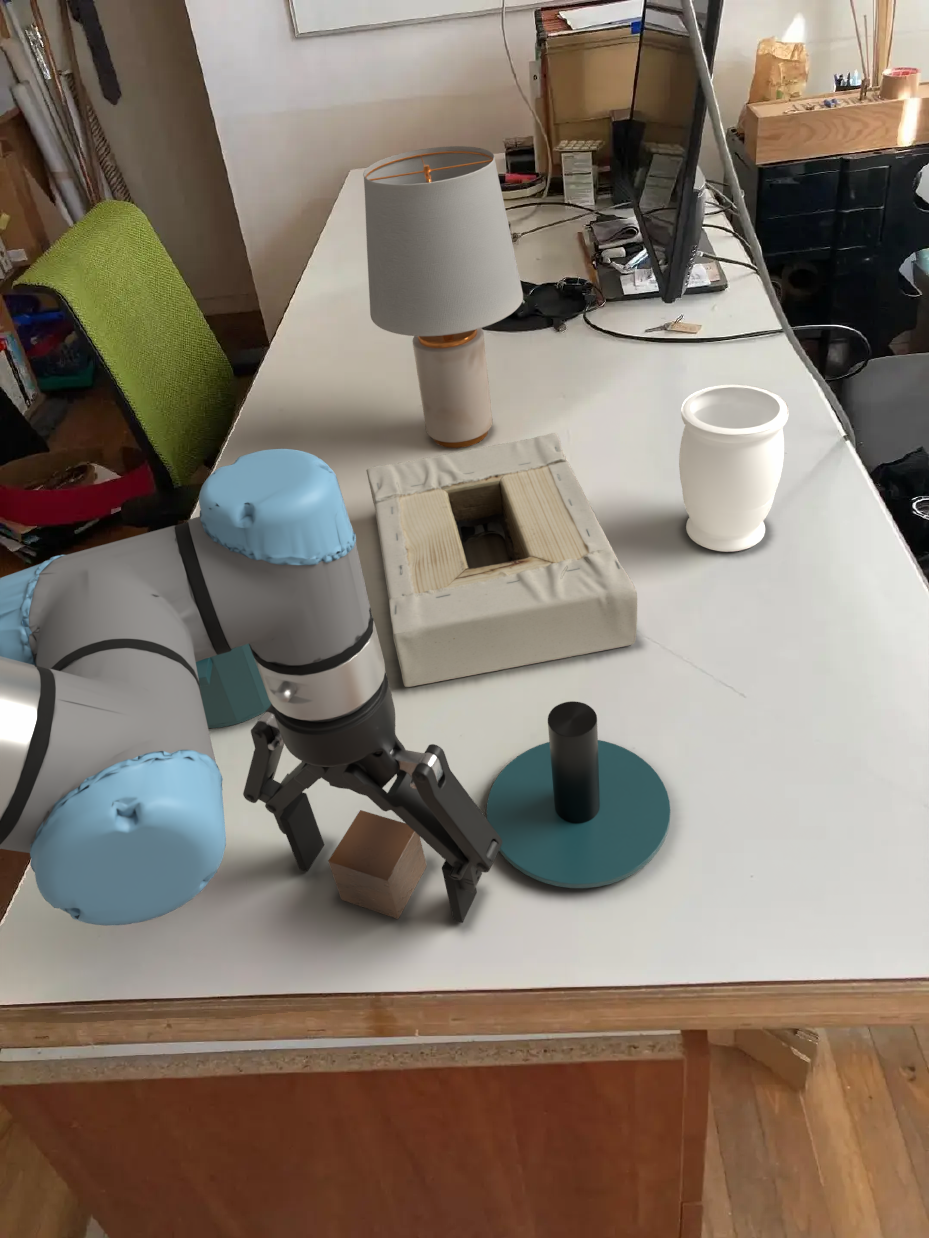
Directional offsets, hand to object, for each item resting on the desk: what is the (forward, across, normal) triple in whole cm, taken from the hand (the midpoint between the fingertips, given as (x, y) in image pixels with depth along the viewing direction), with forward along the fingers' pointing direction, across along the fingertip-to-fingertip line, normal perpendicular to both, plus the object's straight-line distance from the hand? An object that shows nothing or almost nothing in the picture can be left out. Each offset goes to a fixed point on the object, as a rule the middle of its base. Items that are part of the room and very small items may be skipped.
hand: (386, 880), depth 72 cm
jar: (+1, +15, +53) cm, 55 cm away
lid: (0, +12, +11) cm, 16 cm away
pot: (0, -26, +16) cm, 31 cm away
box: (0, -7, +39) cm, 40 cm away
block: (0, 0, 0) cm, 0 cm away
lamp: (0, -23, +67) cm, 71 cm away
